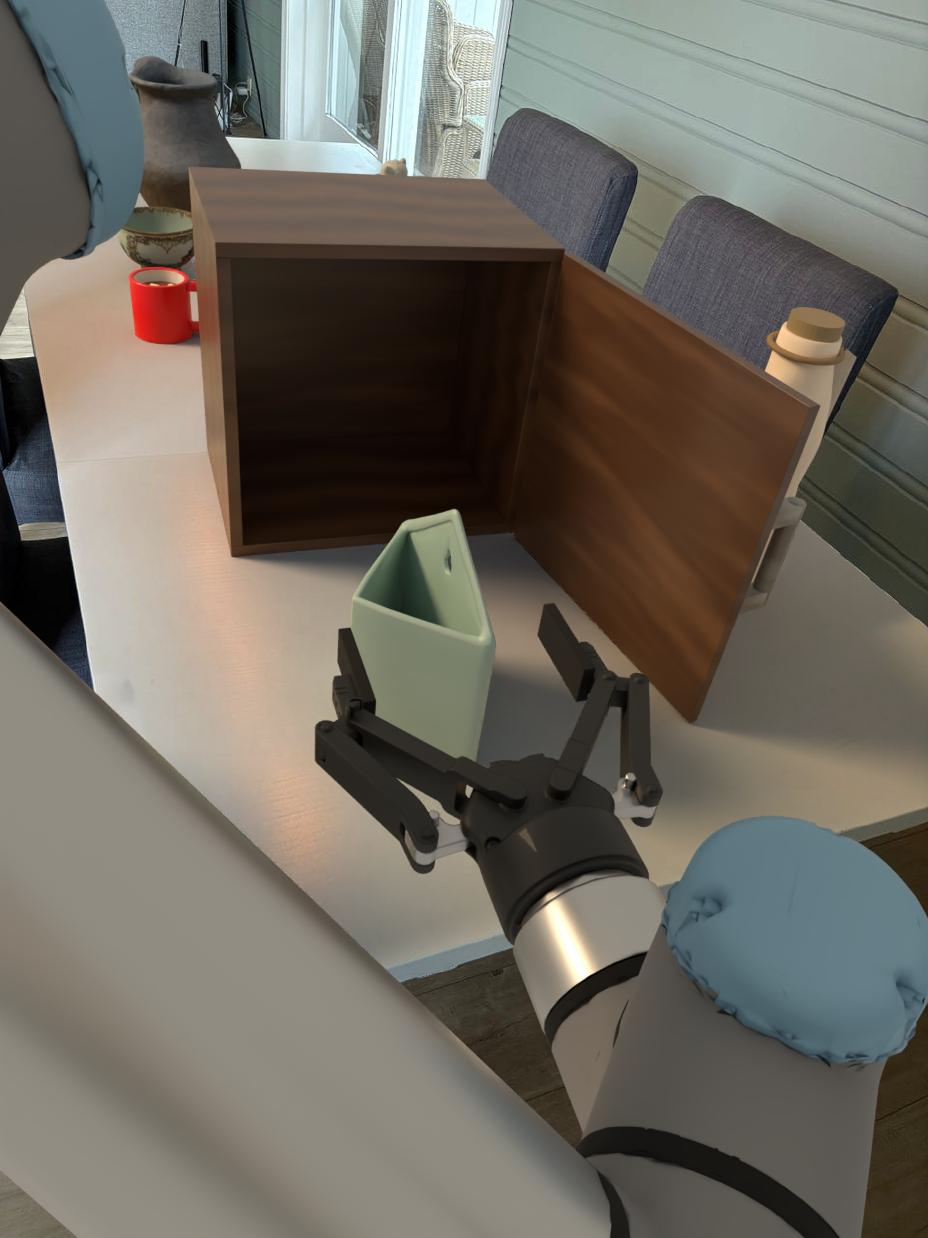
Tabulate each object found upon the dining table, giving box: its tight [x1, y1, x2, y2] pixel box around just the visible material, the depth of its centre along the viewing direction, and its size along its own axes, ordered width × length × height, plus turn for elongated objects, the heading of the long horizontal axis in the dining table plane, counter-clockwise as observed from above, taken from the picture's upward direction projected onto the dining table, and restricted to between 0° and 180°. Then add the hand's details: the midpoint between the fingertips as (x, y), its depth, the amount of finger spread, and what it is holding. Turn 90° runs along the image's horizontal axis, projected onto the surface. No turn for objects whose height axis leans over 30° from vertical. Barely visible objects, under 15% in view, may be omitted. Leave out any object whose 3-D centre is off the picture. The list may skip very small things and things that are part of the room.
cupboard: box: [189, 167, 566, 557], centre depth 94 cm, size 22×30×30 cm
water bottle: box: [751, 306, 858, 583], centre depth 91 cm, size 10×9×28 cm
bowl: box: [116, 206, 195, 272], centre depth 146 cm, size 14×13×8 cm
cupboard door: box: [512, 252, 820, 723], centre depth 82 cm, size 7×30×30 cm, turn 28°
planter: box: [349, 509, 497, 763], centre depth 70 cm, size 16×8×20 cm, turn 25°
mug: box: [128, 267, 200, 345], centre depth 128 cm, size 8×12×8 cm, turn 102°
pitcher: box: [128, 55, 242, 213], centre depth 161 cm, size 21×22×25 cm
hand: (448, 631), depth 58 cm, fingers open, 13 cm apart
